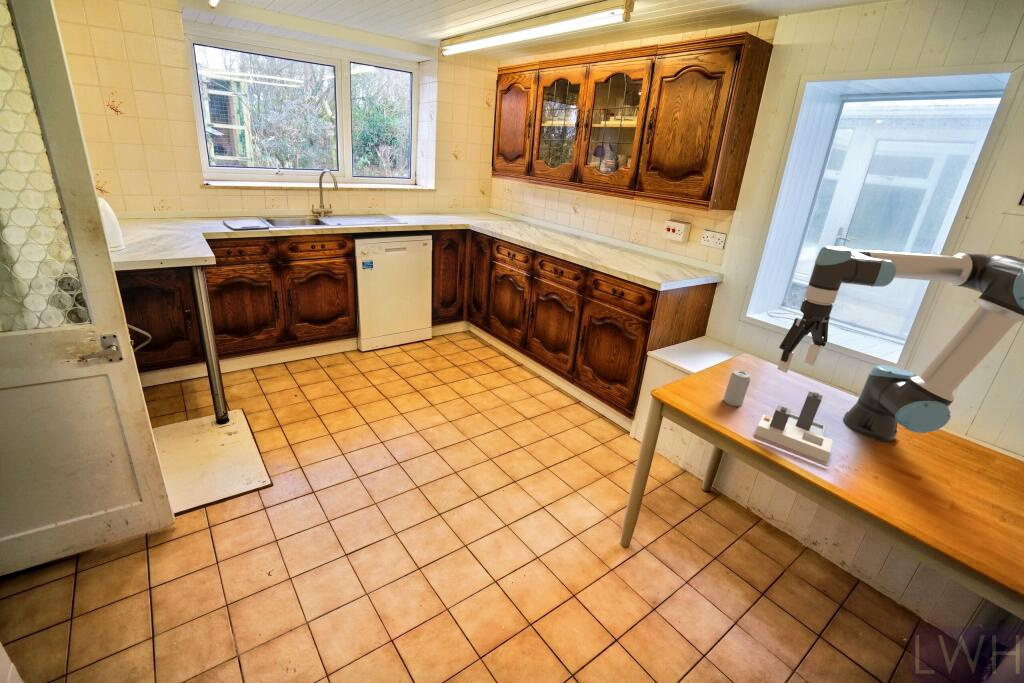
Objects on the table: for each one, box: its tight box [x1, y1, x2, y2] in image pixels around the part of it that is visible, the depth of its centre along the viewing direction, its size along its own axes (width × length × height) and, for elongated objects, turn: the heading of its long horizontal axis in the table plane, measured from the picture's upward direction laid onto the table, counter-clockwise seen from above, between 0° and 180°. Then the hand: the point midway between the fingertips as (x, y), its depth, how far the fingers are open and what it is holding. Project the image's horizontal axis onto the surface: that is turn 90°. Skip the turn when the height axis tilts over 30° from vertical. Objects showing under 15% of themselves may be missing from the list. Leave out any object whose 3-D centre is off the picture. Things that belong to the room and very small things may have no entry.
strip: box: [754, 405, 833, 463], centre depth 148 cm, size 20×9×11 cm, turn 53°
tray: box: [787, 412, 826, 436], centre depth 160 cm, size 12×10×2 cm
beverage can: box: [723, 369, 751, 408], centre depth 169 cm, size 6×6×12 cm
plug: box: [796, 390, 824, 431], centre depth 157 cm, size 4×4×13 cm
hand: (795, 367), depth 145 cm, fingers open, 13 cm apart
